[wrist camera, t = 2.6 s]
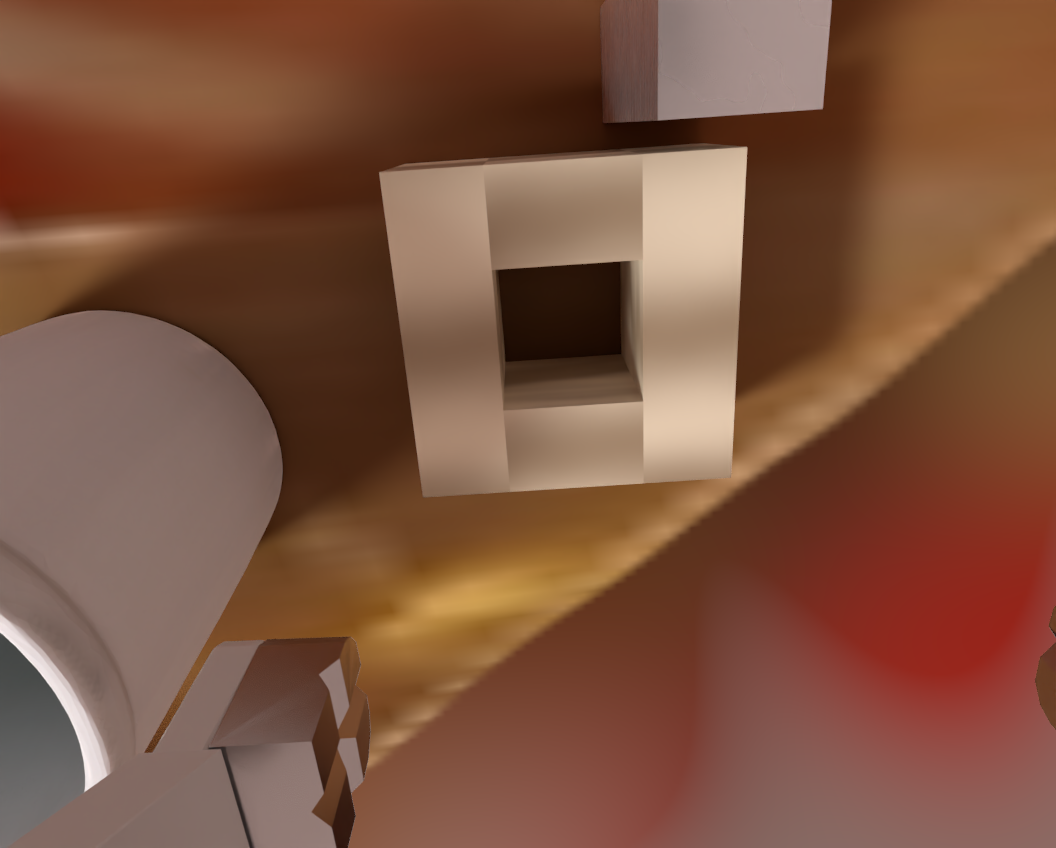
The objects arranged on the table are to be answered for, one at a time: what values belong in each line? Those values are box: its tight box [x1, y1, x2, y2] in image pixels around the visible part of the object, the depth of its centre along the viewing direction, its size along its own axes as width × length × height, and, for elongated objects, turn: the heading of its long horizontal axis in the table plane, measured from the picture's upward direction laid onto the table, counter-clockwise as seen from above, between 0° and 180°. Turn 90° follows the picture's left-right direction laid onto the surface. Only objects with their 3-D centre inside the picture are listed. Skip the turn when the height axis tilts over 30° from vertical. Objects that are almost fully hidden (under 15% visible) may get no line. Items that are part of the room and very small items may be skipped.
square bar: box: [600, 0, 832, 123], centre depth 22 cm, size 4×4×12 cm
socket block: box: [379, 143, 747, 497], centre depth 28 cm, size 12×12×6 cm
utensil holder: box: [0, 310, 283, 848], centre depth 26 cm, size 15×15×18 cm
